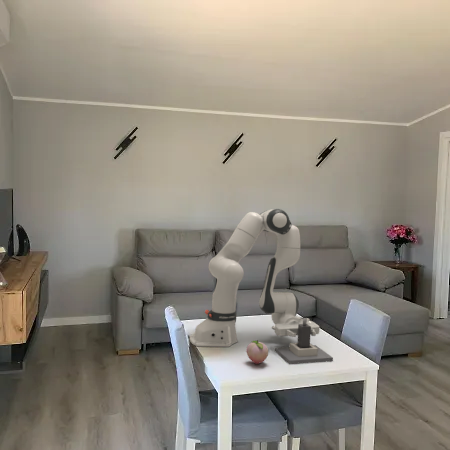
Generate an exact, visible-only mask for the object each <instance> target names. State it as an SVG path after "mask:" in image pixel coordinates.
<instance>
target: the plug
mask: <svg viewBox="0 0 450 450" xmlns="http://www.w3.org/2000/svg"><path fill="white" fill-rule="evenodd" d="M302 318H303V324H298V335H297V341H296V343H297V346H298V347H299V348H300V349H301V348H310V343H311V335H310V334H311V326H309V325H308V324H307V319H306V318H307V317H302Z"/></svg>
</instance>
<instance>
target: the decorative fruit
mask: <svg viewBox="0 0 450 450" xmlns="http://www.w3.org/2000/svg"><path fill="white" fill-rule="evenodd" d="M245 352H246V355H247V357H248V358H249V360H250V361H251V362H253V363H254V364H256V365H258V364H261V363H264V362H265V360H267V357H268V356H269V348H268V346H267V345H266V344H265V343H264V342H261V341H259V339H257V340H252V341H251V342H250V343H249V344H248V345H247V347H246V349H245Z"/></svg>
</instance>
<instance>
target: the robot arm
mask: <svg viewBox="0 0 450 450" xmlns="http://www.w3.org/2000/svg"><path fill="white" fill-rule="evenodd" d="M289 217H290V216H289V214H287V212H286V211H285V210H283V209H281V208H271V209H267V210H264V211H263V212H261V213H260V214H259V213H258V212H254V211H249V212H247V213H246V214H245V215H244V216H243V217H242V219H241V220H240V221H239V223H238V224H237V226H236V228H235V229H234V231H233V232H232V235H231V236H230V237H229V240H228V241H227V242H226V243H225V244H224V246H223V247H222V248H221V249H220V250H219V252H218V253H217V254H216V255H215V256H214V257H212V258H211V259H210V261H209V263H208V270H209V273H210V274H211V276H212V277H214V278H215V279H216V285H215V288H214V291H213V293H212V296H211V297H212V299H211V300H212V302H211V303H212V304H211V306H212V307H211V310H209V309H205V310H204V313H205V314H206V316H207V318H205V319H204V320H203V321H201V322H200V323H198V324H197V325H196V327H195V330H194V334H191V335H190V336H189V342H190V343H191V344H192V345H193V346H196V347H219V348H220V347H228V348H229V347H231V346H232V345H234V344H236V343H238V337H237V329H236V328H237V327H236V322H237V310H236V309H237V307H236V304H237V293H238V290H239V285H240V283H241V281H242V280H243V278H244V275H245V273H244V272H245V271H244V268H243V267H242V265H241V264H240V261H241V260H242V259H243V258H244V257H246V256H247V255H249V253H250V251H252V248H253V246H254V245H255V243H256V241H257V240H258V237H259V235H260V234H261V233H262V232H267V233H269V232H270V233H274V234H275V235H276V238H277V243H276V244H277V245H276V251H275V254H274V256H273V257H272V258H270V260H269V262H268V266H267V269H266V272H265V273H266V274H265V278H264V281H263V287H262V291H261V294H260V296H259V301H258V305H259V308H260V310H261V311H262V312H263V313H265V314H271V321H272V323H273V324H274V325H273V326H271V329H272V330H274V333H275V335H276V336H278V337H288V336H289V337H292V338H296V337H297V336H298V324H303V318H304V317H301V316H297V314H298V312H299V309H300V302H299V299H298V297H297V296H296V294H295V293H294V292H292V291H291V292H287V291H285V292H284V291H281V292H279V291H278V292H275V291H274V287H275V284H276V278H277V275H278V274H279V273H281V271H283V270H285V269H288V268H290V267H292V266H294V265H296V264H297V263H298V261H299V260H300V256H301V235H300V234H301V233H300V229H299V228H298V227H297V225H294V224H292V222H291V220H290V218H289ZM305 318H306V319H307V324H308V325H309V326H311V334H310V337H311V336H312V337H316V335H319V334H320V331H321V330H320V326H319V325H318V324H317V323H316V322H315V321H312V320H310V318H308V317H305Z"/></svg>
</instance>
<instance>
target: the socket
mask: <svg viewBox="0 0 450 450" xmlns="http://www.w3.org/2000/svg"><path fill="white" fill-rule="evenodd" d="M274 352H275V353H276V354H277V355H278V356H280V358H282V359H283V360H284V361H285V362H286V363H288V364H289V365H297V364H300V365H301V364H309V363H311V364H312V363H325V362H326V361H327V362H334V357H333V356H332V355H330V354H329V353H327V352H326V351H324V350H323V349H322V348H320V346H319V347H318V346H317V345H316V344H314V345H313V344H312V343H311V342H310V348H301V349H300V348H299V347H298V346H297V342H290V343H289V346H283V347H282V346H281V347H280V346H279V347H274ZM327 362H326V363H327Z"/></svg>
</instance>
